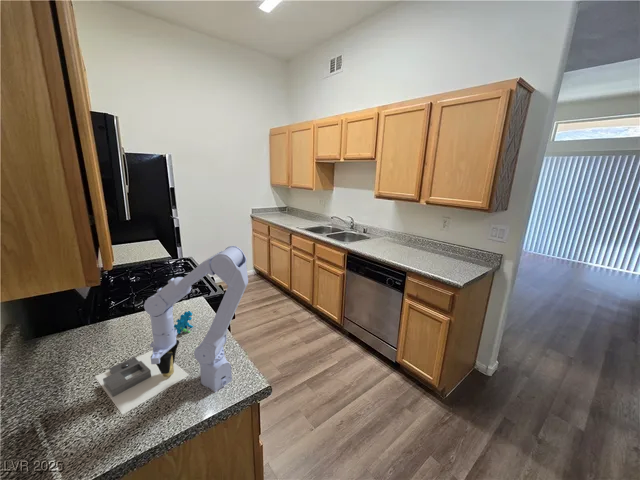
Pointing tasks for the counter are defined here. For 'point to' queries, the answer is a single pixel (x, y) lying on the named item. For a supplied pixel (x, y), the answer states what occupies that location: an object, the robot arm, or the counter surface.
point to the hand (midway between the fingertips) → (167, 368)
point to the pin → (170, 367)
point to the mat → (143, 384)
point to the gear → (183, 323)
